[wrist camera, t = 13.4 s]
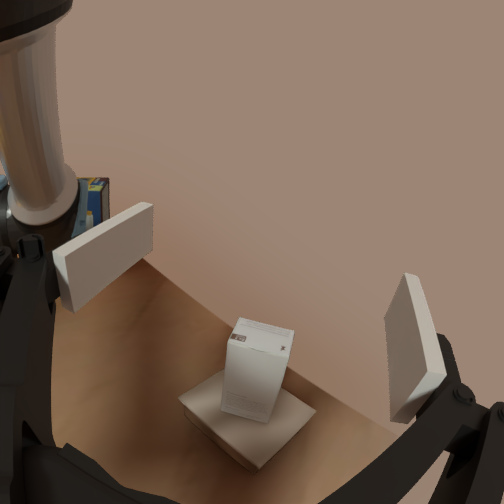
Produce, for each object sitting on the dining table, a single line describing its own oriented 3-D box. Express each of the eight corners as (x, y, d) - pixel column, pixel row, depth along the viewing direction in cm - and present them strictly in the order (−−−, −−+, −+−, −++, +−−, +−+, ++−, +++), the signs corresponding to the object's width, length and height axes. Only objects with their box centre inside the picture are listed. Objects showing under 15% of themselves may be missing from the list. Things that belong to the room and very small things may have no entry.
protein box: (58, 233, 73) (54, 177, 67) (110, 235, 77) (110, 177, 71) (45, 252, 64) (38, 189, 58) (103, 254, 68) (100, 189, 62)
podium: (178, 414, 37) (178, 396, 35) (236, 375, 45) (240, 357, 43) (254, 479, 30) (260, 467, 28) (307, 427, 38) (316, 411, 36)
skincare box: (275, 399, 37) (298, 328, 31) (267, 427, 33) (293, 357, 27) (227, 386, 38) (240, 312, 32) (216, 412, 34) (227, 340, 28)
